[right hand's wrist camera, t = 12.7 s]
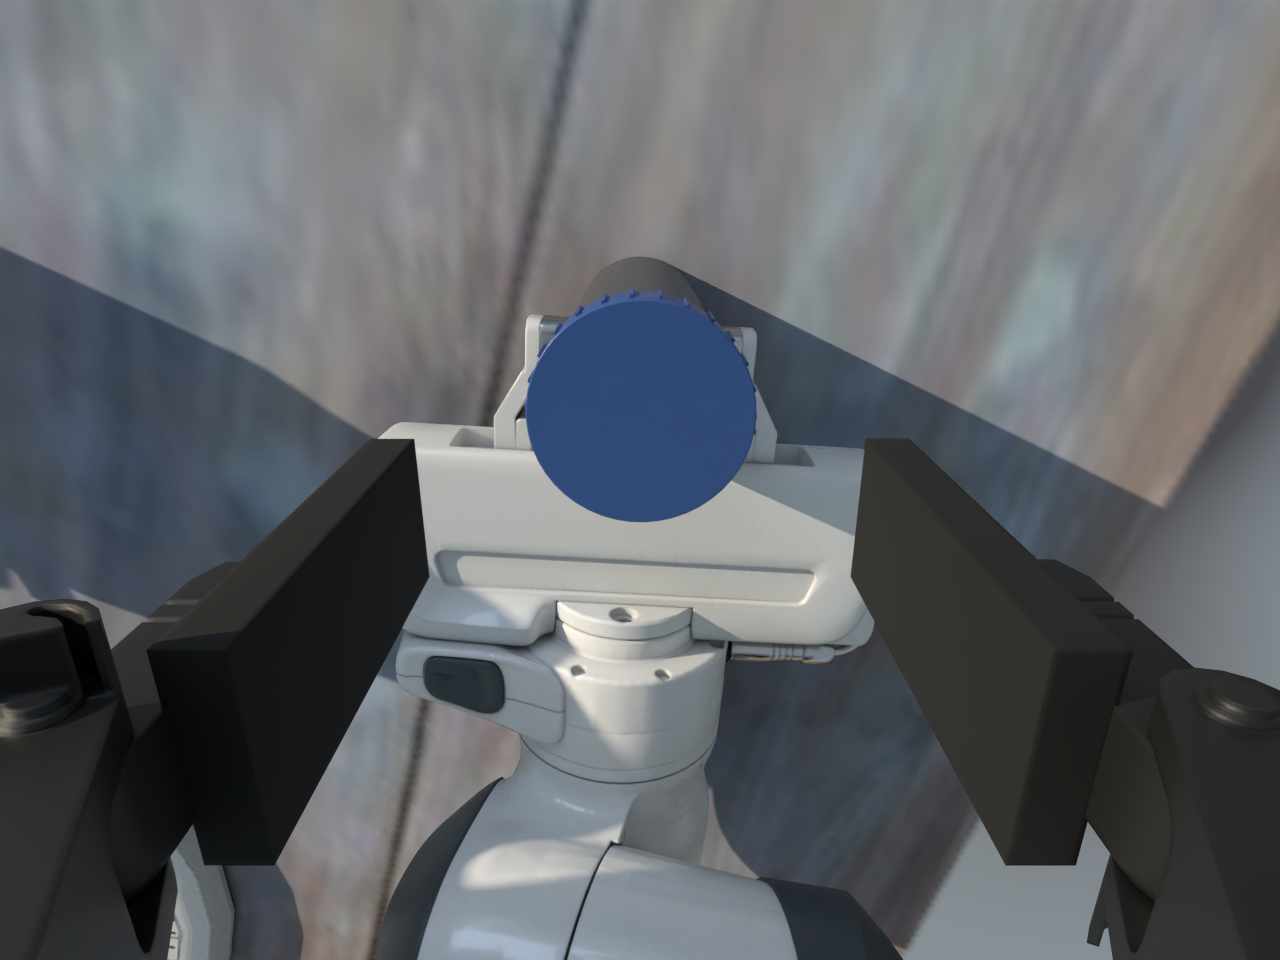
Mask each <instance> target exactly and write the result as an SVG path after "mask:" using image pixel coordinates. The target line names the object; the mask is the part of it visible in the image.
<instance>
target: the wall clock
mask: <svg viewBox="0 0 1280 960" xmlns="http://www.w3.org/2000/svg"><path fill="white" fill-rule="evenodd" d="M170 857H171V860H172V864H173V867H174V871H175V874H176V881H177V887H178V893H177V900H176V906H175V913H174V919H173V926H172V932H171V939H170V945H169V952H168V958H167V960H229V959H230V957H231V951H232V939H233V926H234V914H235V910H234V906H233V903H232V899H231V896H230V892H229V889H228V885H227V882H226V878H225V874H224V871H223V867H222V865H204V862H203V859H202V855H201V851H200V848H199V844H198V840H197V836H196V833H195V829H194V825H192V826H191V828H190V829H189V831H188V832H187V834H186V835H185V836H184V838H183V839H182V841H181V842H180V844H179V845H178V846H177V848H176V849H175V851H174V852H173V854H172V855H171V856H170Z"/></svg>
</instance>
